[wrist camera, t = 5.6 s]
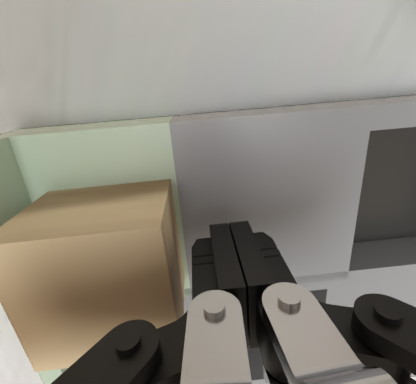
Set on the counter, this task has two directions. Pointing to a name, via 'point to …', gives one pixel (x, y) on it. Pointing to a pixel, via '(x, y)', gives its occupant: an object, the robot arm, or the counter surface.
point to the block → (90, 267)
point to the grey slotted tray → (255, 186)
